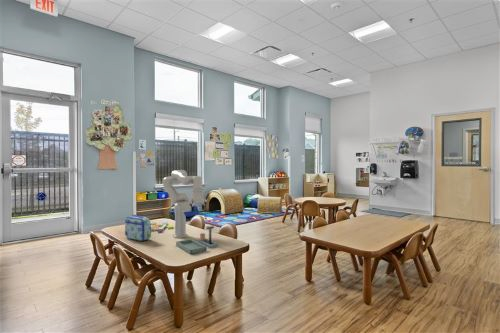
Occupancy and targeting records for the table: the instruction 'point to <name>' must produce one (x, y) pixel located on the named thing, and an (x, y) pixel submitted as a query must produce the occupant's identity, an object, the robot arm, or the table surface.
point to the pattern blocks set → (159, 227)
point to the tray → (191, 246)
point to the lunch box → (137, 228)
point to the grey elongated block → (203, 241)
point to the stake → (210, 234)
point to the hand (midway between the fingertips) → (198, 210)
